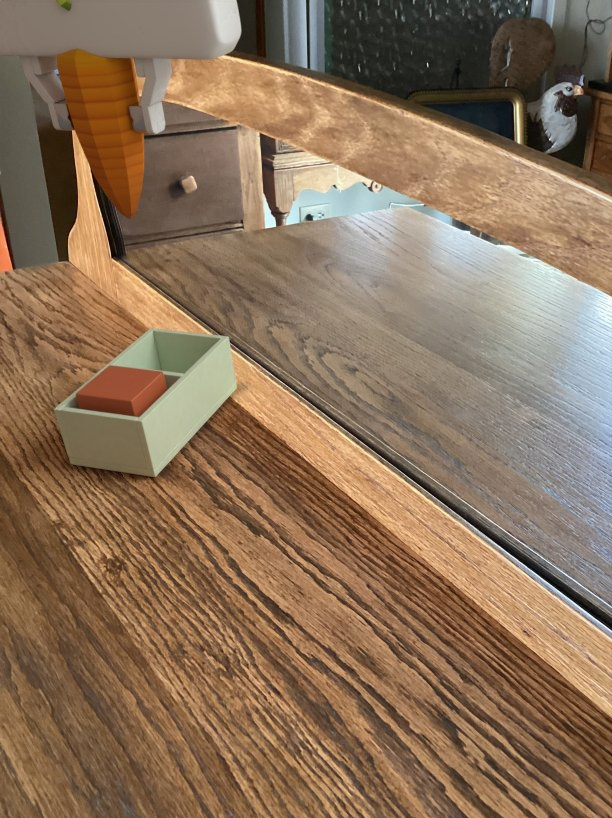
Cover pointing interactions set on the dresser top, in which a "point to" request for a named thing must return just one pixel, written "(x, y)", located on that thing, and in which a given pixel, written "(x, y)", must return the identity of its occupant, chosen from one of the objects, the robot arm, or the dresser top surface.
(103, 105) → the carrot
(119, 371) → the terracotta block
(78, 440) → the sorting tray
